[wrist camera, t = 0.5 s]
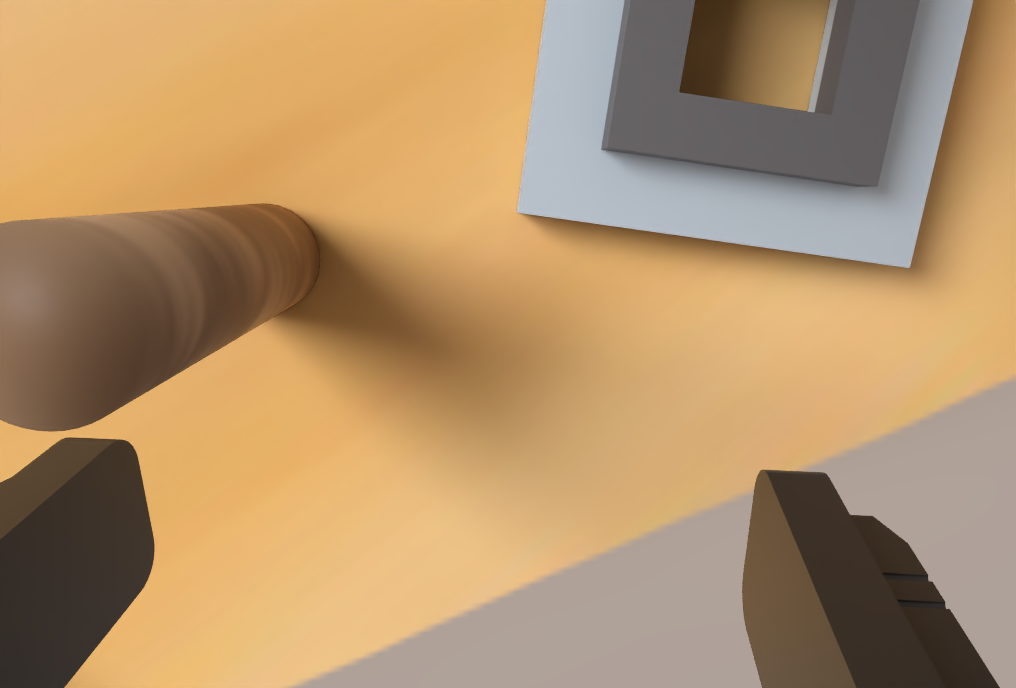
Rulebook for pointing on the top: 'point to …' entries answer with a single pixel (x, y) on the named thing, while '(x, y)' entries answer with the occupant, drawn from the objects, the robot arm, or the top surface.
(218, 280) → the peg
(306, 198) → the top surface
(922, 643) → the robot arm
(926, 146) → the socket
